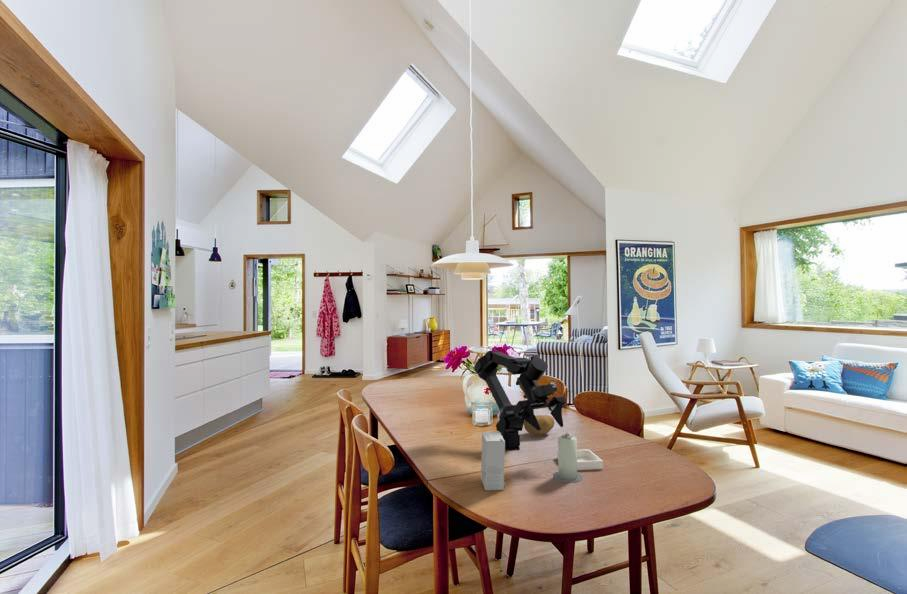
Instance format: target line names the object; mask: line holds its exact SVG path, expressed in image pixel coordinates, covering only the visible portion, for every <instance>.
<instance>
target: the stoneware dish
mask: <svg viewBox="0 0 907 594" xmlns="http://www.w3.org/2000/svg"><path fill="white" fill-rule="evenodd" d="M556 458H557V459H558V449H557V450H556ZM589 470H590V471H592V470H593V471H594V470H604V460H603V459H602V458H600V457H599V456H598V455H596V454H595V453H594V452H593V451H591V450H590V449H587V448H585V449H577V471H589Z"/></svg>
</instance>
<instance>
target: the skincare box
mask: <svg viewBox="0 0 907 594" xmlns="http://www.w3.org/2000/svg"><path fill="white" fill-rule="evenodd" d="M481 437H482V438H481V460H480V461H481V465H480V466H481V467H480V480H481V482H482V484H483V488H484V491H505V463H506V462H505V461H506V459H505V457H506V455H505V454H506V450H505V441H504V439H503V436H502V435H501V434H500V432H499V431H493V432H492V431H490V432H489V431H488V432H487V431H483V432H481Z"/></svg>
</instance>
